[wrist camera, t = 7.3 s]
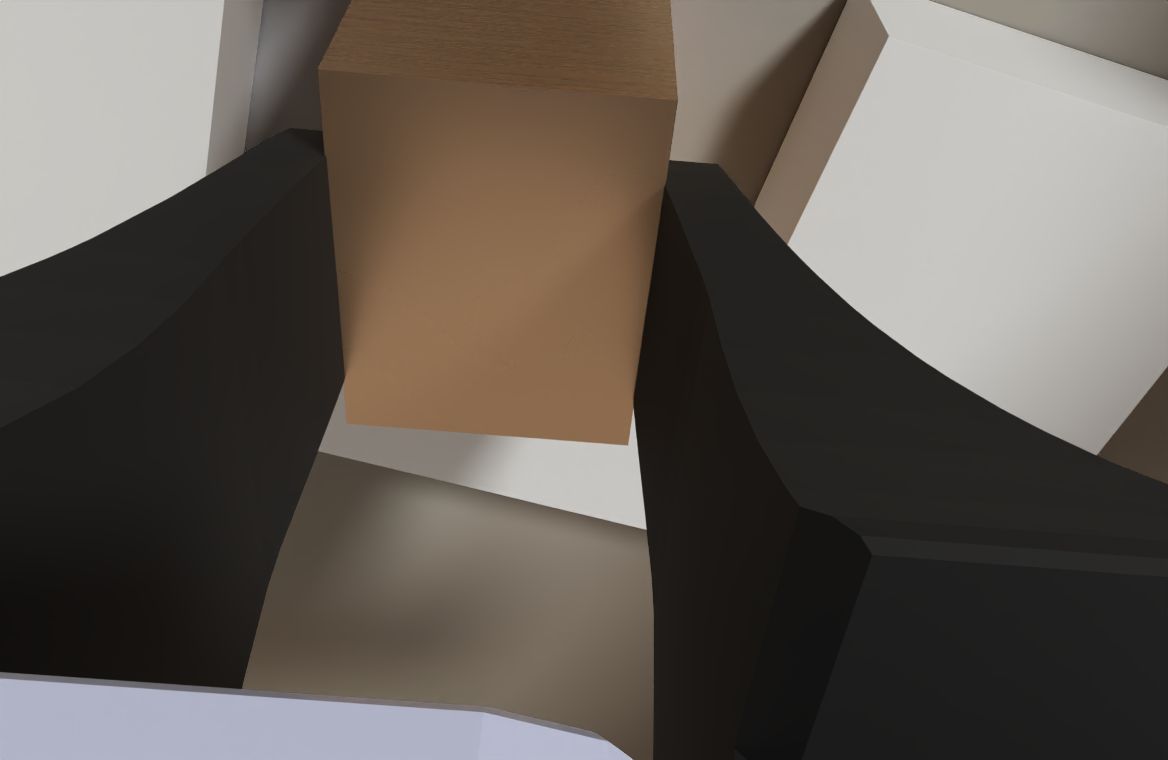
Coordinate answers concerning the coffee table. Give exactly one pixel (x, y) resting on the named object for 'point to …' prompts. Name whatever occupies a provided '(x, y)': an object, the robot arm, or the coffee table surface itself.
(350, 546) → the coffee table surface
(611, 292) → the block
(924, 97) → the board
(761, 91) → the coffee table surface
